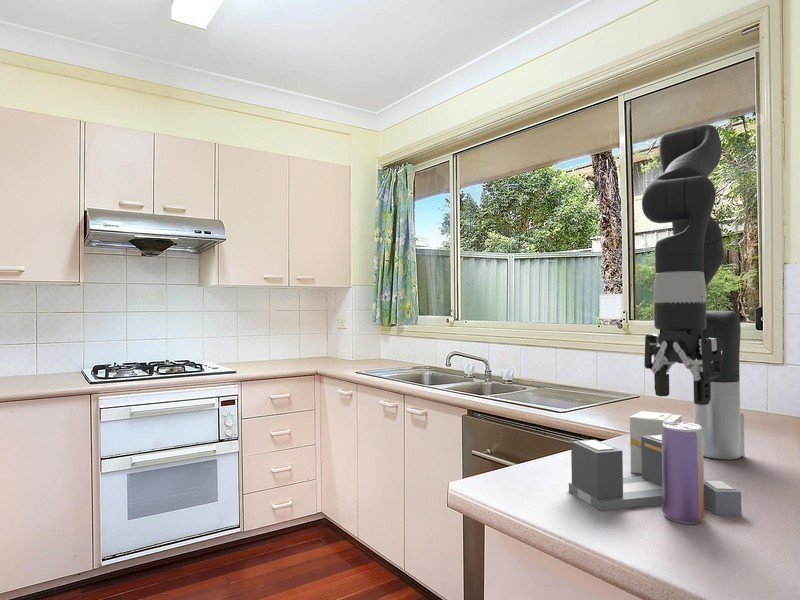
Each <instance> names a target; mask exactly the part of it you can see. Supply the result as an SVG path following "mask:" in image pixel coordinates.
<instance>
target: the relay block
mask: <svg viewBox="0 0 800 600" xmlns="http://www.w3.org/2000/svg"><path fill="white" fill-rule="evenodd" d="M706 507H707V508H708V509H707V508H706ZM704 508H706V509H707V510H709V511H710V513H712V512H713V513H712V514H714V515H715V516H727V515H733V516H734V515H736V517H737V516H738V517H739V516H740V517H742V513H743V512H742V491H740V490H738V489H737V488H735V487H734V486H732V485H731V484H729V483H728V482H726V481H724V480H721V479H704ZM734 517H735V516H734Z"/></svg>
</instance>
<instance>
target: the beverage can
mask: <svg viewBox="0 0 800 600" xmlns="http://www.w3.org/2000/svg"><path fill="white" fill-rule="evenodd" d="M701 429H702V428H701V426H699V425H695V424H694V423H689V422H666V423H663V428H662V497H663V504H662V513H663V514H664V516H665V518H666V519H668V520H669V521H671V520H672V522H674V523H678V524H681V523H682V525H688V524H689V525H691V526H692V525H693V524H695V525H699V524H701V523H702V522H703V521H704V519H705V506H704V480H705V478H704V477H705V476H704V475H705V474H704V472H705V470H704V468H705V467H704V462H705V461H704V456H703V433H702V430H701ZM693 526H694V525H693Z"/></svg>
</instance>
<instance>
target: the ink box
mask: <svg viewBox="0 0 800 600" xmlns="http://www.w3.org/2000/svg"><path fill="white" fill-rule="evenodd" d="M682 421H683V419H682V415H681V414H680V415H679V414H672V413H670V412H669V413H667V412H657V411H655V412H654V411H645V410H644V411H641V410H640V411H639V412H637V413H635V414H633V415H630V416H629V434H630V435H629V436H630V438H629V440H630V444H629V445H630V473H632V474H633V473H634V474H640V475H642V447H641V436H650V435H662V428H663V423H666V422H682Z"/></svg>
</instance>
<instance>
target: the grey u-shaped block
mask: <svg viewBox="0 0 800 600" xmlns="http://www.w3.org/2000/svg"><path fill="white" fill-rule="evenodd" d="M570 443H571V445H570V448H571V452H570V453H571V461H570V462H571V482H568V491H569V493H571V494H573V495H575V496H576V497H578V498H579V499H581V500H582V501H584V502H586V503H587V504H589V505H591V506H592V507H594V508H596V509H597V510H598V511H601V512H602V511H603V512H605V511H613V510H623V509H630V508H632V507H633V508H639V507H641V506H642V507H650V506H658V505H663V497H662V435H650V436H641V447H642V474H641V475H639V476H629V477H628V476H627V477H624V467H623V465H624V463H623V461H624V460H623V458H624V457H623V455H624V454H623V450H622V449H619V448H616V447H614V446H612V445H609V444H606V443H605V442H602V441H600V440H597V439H586V440H585V439H584V440H572V441H571V442H570Z"/></svg>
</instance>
